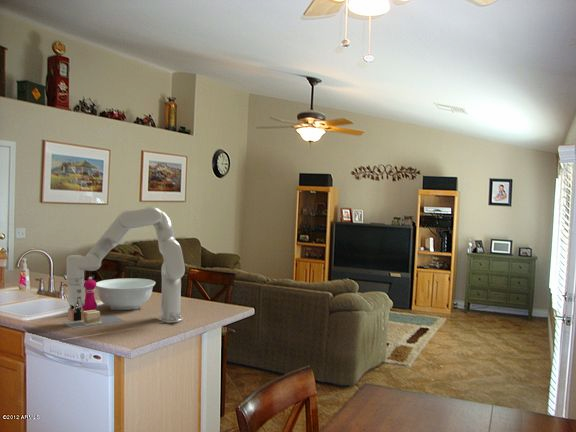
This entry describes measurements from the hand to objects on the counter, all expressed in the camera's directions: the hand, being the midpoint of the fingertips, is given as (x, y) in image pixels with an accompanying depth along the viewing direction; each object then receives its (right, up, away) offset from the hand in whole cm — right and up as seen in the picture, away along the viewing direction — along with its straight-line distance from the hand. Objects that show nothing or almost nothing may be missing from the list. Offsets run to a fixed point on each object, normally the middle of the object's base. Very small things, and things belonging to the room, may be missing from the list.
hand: (75, 319), depth 229 cm
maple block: (+5, -3, +5) cm, 8 cm away
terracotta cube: (0, 0, 0) cm, 0 cm away
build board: (+6, -4, +6) cm, 10 cm away
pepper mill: (-3, -3, +23) cm, 24 cm away
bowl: (+10, -3, +40) cm, 42 cm away
